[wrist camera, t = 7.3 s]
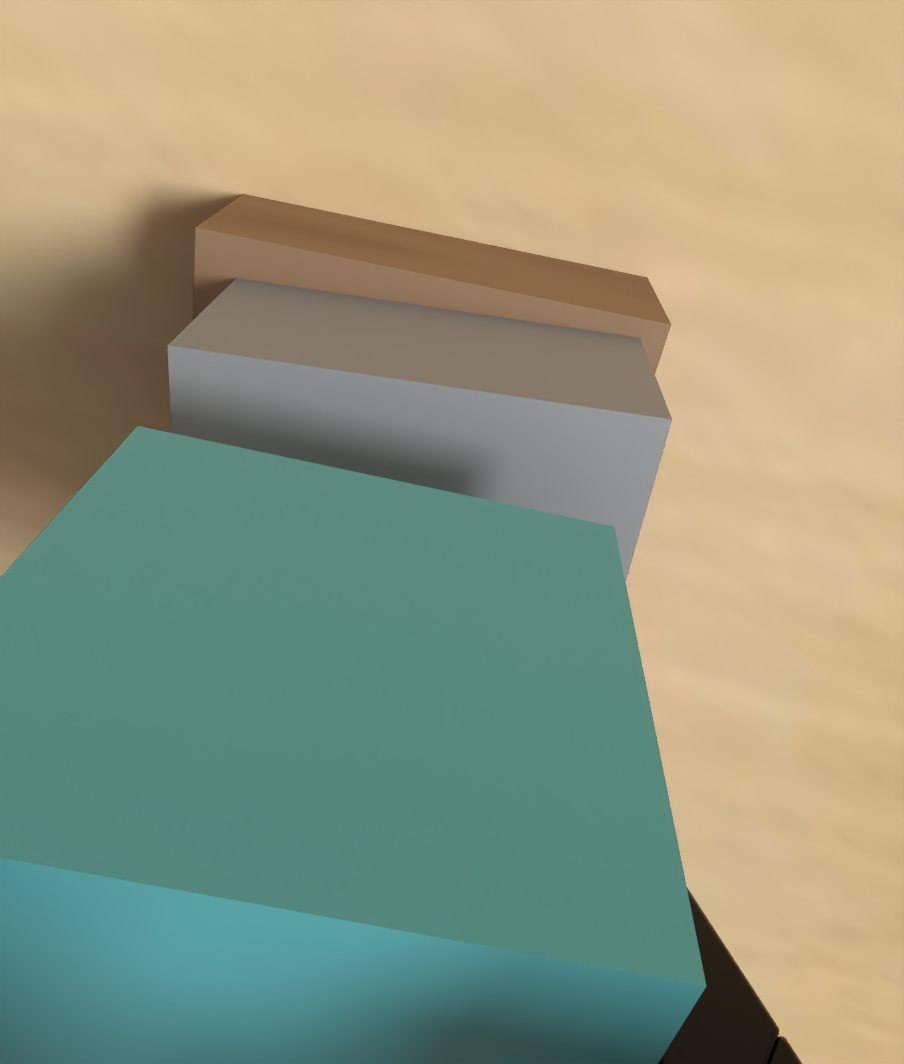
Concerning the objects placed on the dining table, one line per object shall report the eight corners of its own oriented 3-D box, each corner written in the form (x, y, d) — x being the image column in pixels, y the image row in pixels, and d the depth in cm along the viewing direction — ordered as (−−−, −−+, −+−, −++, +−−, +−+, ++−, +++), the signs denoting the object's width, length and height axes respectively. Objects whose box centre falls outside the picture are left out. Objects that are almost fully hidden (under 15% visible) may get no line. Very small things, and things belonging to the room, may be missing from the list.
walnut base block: (548, 590, 19) (553, 681, 16) (229, 530, 19) (184, 613, 16) (644, 271, 15) (670, 324, 13) (250, 190, 15) (195, 228, 12)
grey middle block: (560, 651, 16) (569, 774, 13) (235, 605, 16) (182, 720, 13) (639, 337, 13) (672, 419, 10) (236, 277, 13) (167, 345, 10)
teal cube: (502, 837, 12) (497, 1318, 7) (131, 767, 11) (-100, 1225, 7) (614, 526, 9) (705, 986, 5) (137, 425, 9) (-217, 818, 5)
